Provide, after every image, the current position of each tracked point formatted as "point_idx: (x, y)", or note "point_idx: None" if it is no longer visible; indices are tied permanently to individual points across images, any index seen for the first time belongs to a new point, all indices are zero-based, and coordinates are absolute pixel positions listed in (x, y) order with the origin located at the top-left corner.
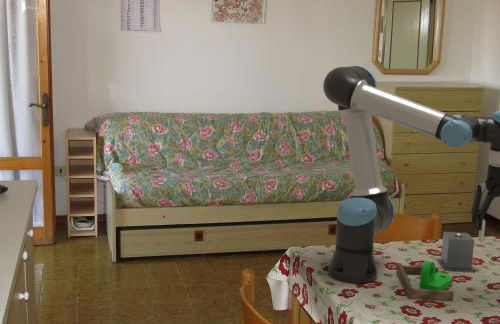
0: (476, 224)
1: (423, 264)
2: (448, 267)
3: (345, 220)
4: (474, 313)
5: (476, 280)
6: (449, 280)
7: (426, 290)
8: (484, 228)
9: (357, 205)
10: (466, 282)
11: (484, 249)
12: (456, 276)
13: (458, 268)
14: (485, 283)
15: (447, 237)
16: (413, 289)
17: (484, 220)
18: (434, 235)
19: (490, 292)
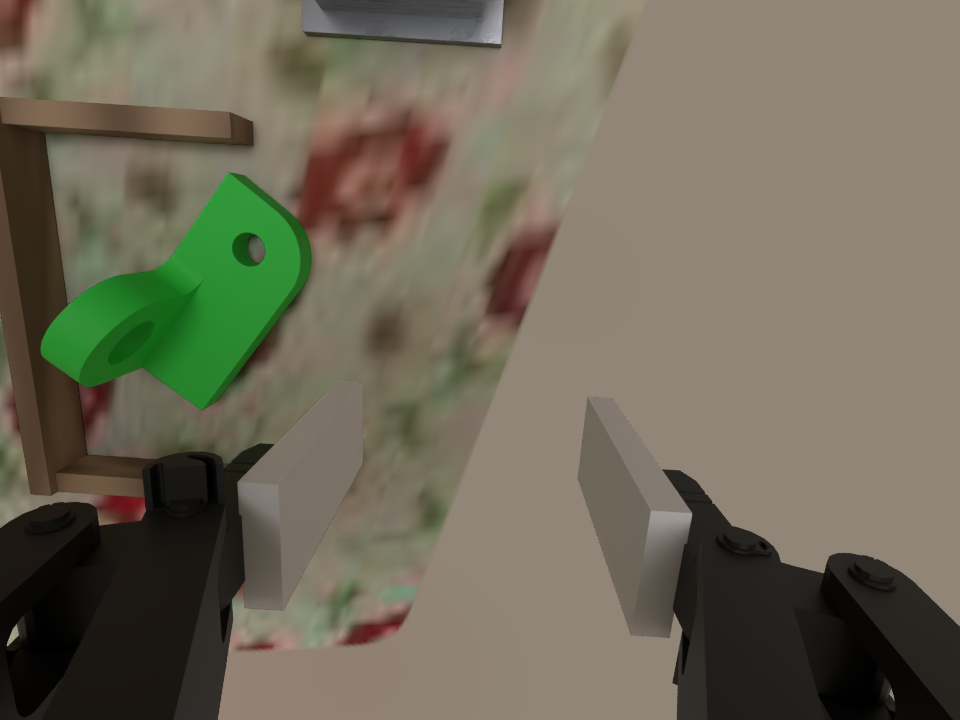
0: (225, 467)
1: (44, 357)
2: (335, 10)
3: None
4: (330, 598)
5: (461, 200)
6: (274, 308)
7: (122, 491)
8: (317, 541)
9: None
10: (395, 239)
11: None
12: (362, 143)
13: (399, 16)
14: (497, 244)
15: None
16: (60, 484)
17: (270, 595)
18: None
19: (478, 371)
